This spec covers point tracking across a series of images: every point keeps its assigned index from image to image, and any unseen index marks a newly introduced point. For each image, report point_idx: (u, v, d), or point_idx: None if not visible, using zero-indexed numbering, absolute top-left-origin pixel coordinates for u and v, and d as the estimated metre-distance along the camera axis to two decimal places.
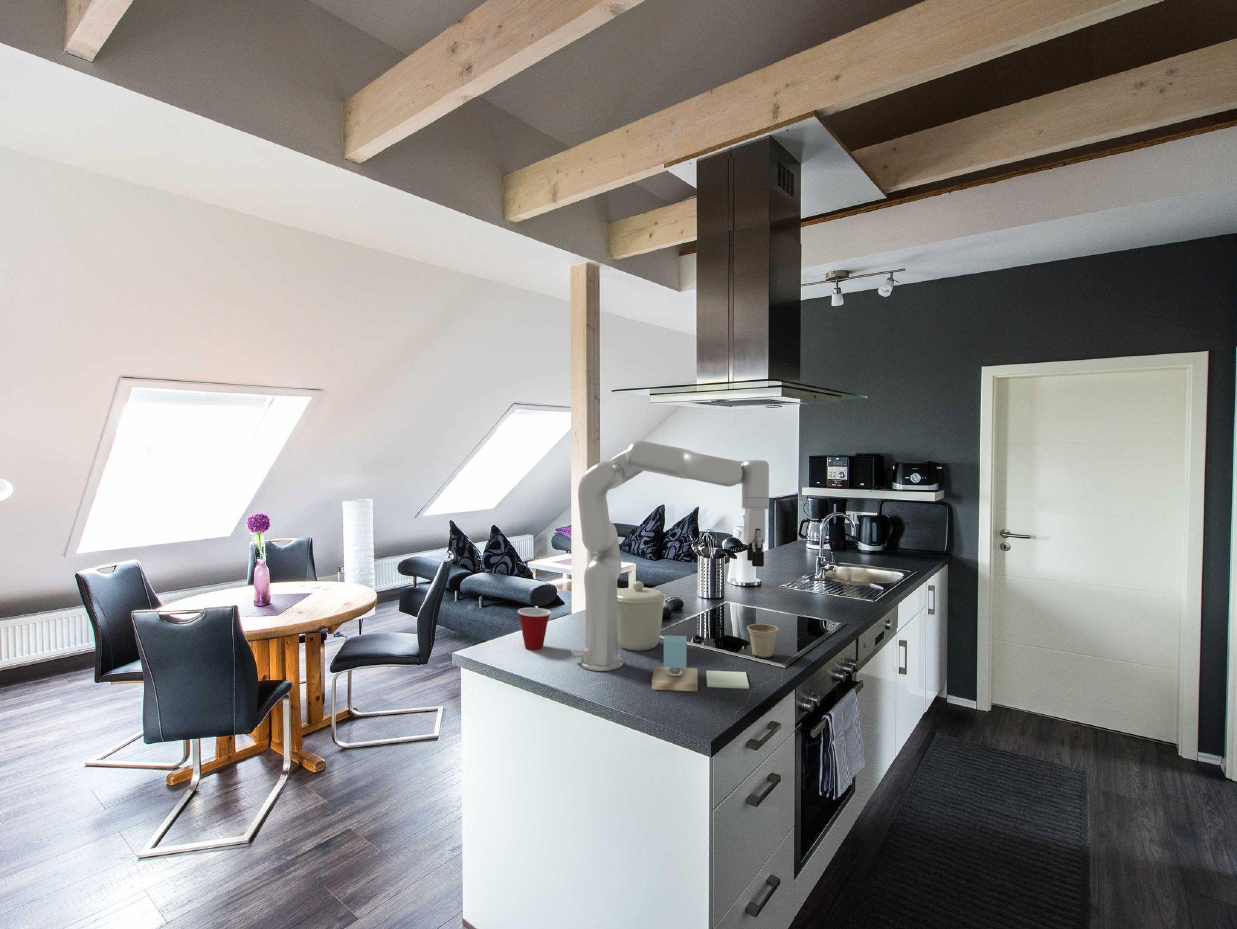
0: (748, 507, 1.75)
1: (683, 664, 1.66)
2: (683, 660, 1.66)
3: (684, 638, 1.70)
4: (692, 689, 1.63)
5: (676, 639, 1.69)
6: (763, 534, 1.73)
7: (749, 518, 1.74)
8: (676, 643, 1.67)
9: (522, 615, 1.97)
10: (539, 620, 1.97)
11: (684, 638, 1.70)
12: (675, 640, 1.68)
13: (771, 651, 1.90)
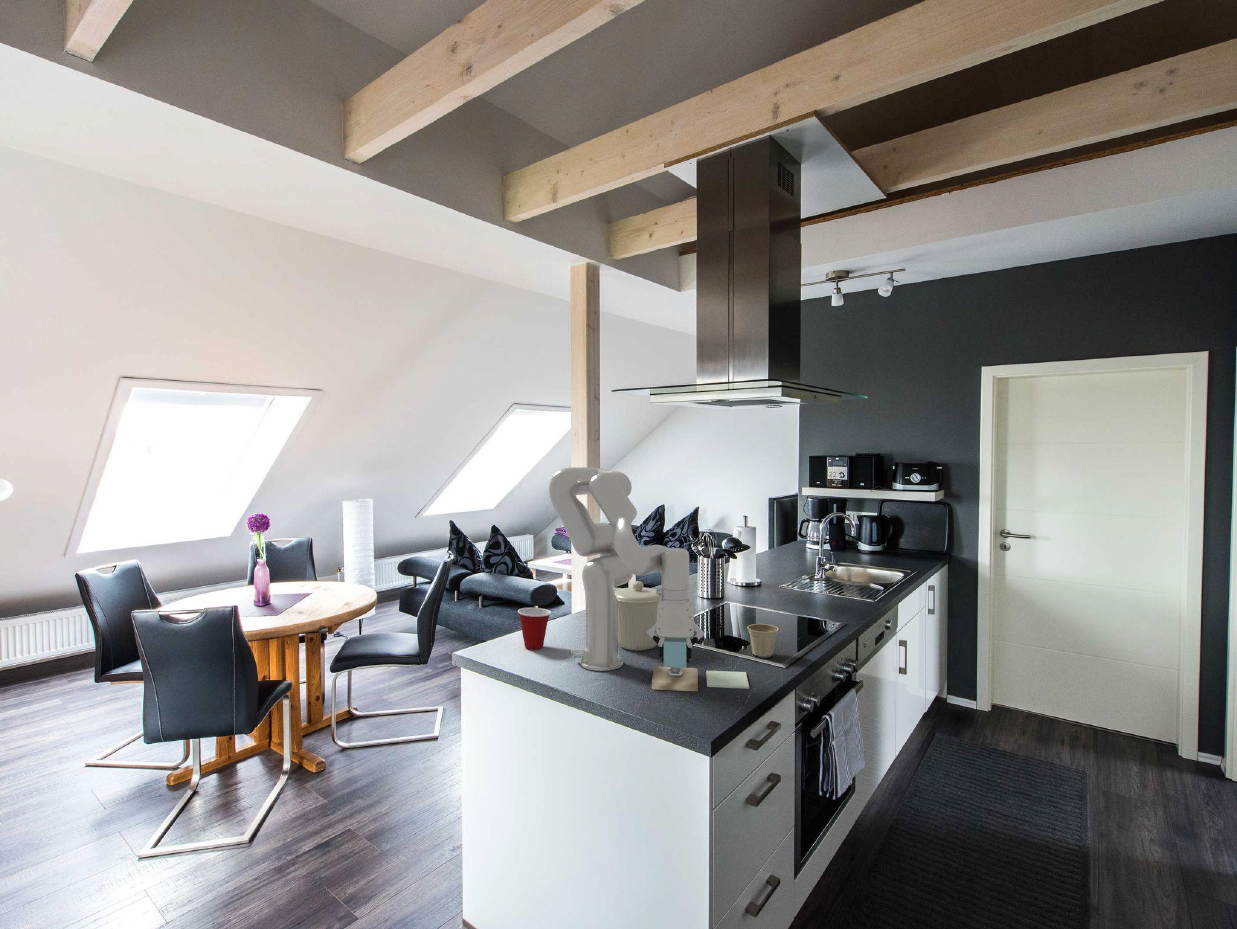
0: (685, 599, 1.67)
1: (683, 664, 1.66)
2: (683, 660, 1.66)
3: (684, 638, 1.70)
4: (692, 689, 1.63)
5: (676, 639, 1.69)
6: None
7: (691, 611, 1.67)
8: (676, 643, 1.67)
9: (522, 615, 1.97)
10: (539, 620, 1.97)
11: (684, 638, 1.70)
12: (675, 640, 1.68)
13: (771, 651, 1.90)
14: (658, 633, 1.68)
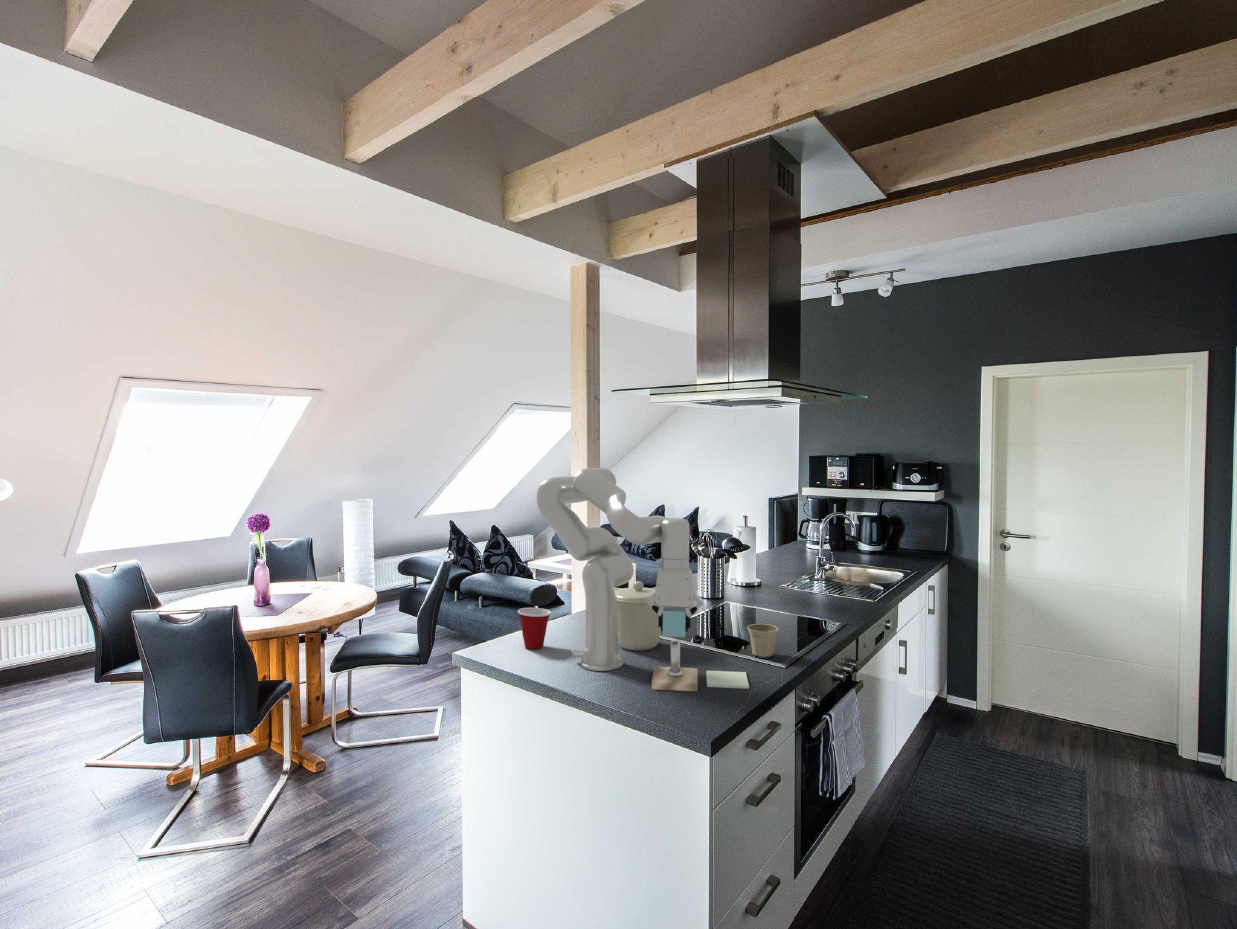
0: (685, 569, 1.67)
1: (682, 633, 1.67)
2: (682, 629, 1.67)
3: (683, 608, 1.70)
4: (692, 689, 1.63)
5: (675, 609, 1.69)
6: None
7: (691, 580, 1.67)
8: (675, 612, 1.67)
9: (522, 615, 1.97)
10: (539, 620, 1.97)
11: (683, 608, 1.70)
12: (674, 609, 1.68)
13: (771, 651, 1.90)
14: (657, 602, 1.68)
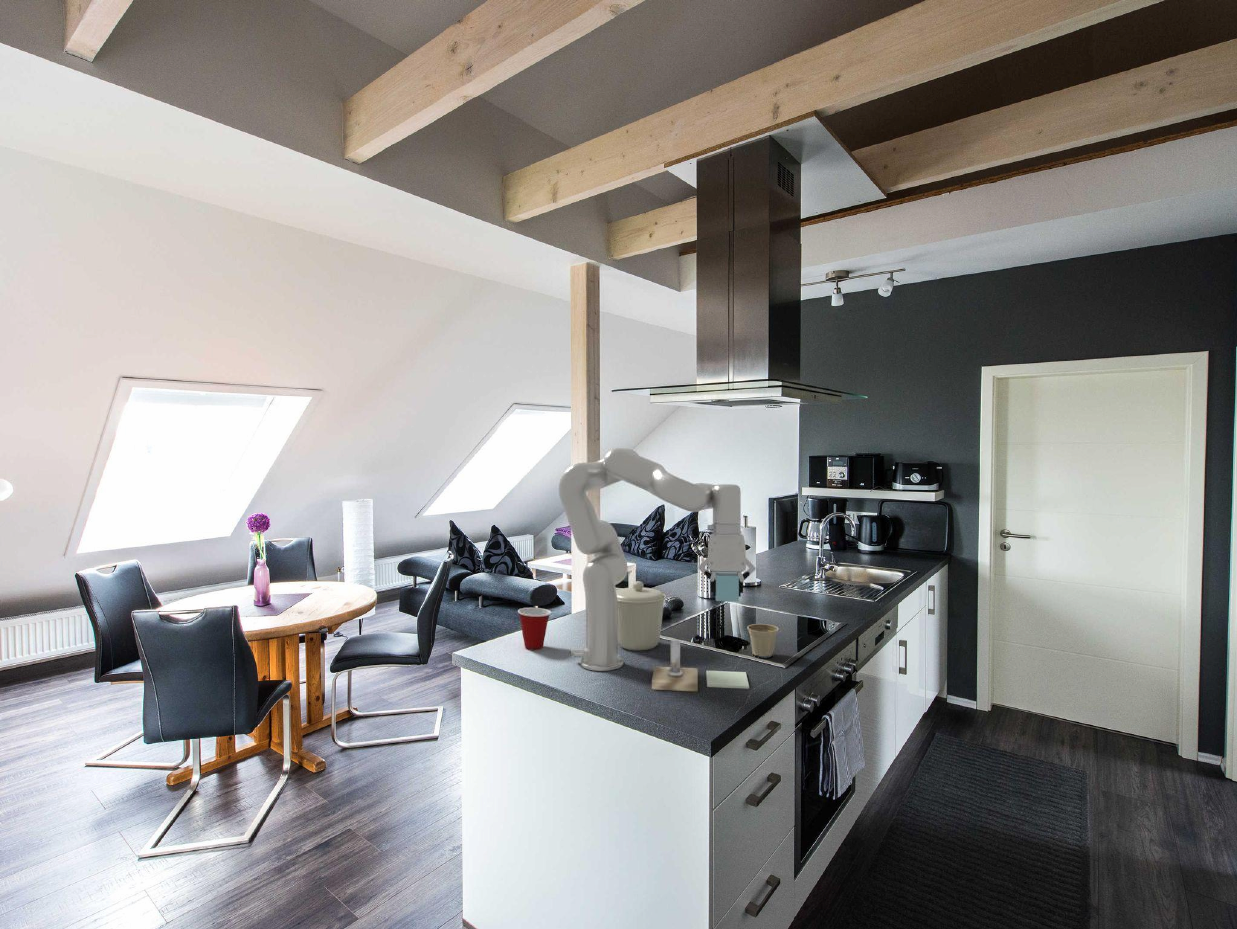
0: (738, 534, 1.68)
1: (736, 598, 1.67)
2: (736, 594, 1.67)
3: (735, 573, 1.71)
4: (692, 689, 1.63)
5: (727, 574, 1.70)
6: None
7: (743, 545, 1.68)
8: (728, 577, 1.68)
9: (522, 615, 1.97)
10: (539, 620, 1.97)
11: (735, 573, 1.71)
12: (727, 574, 1.69)
13: (771, 651, 1.90)
14: (710, 567, 1.69)
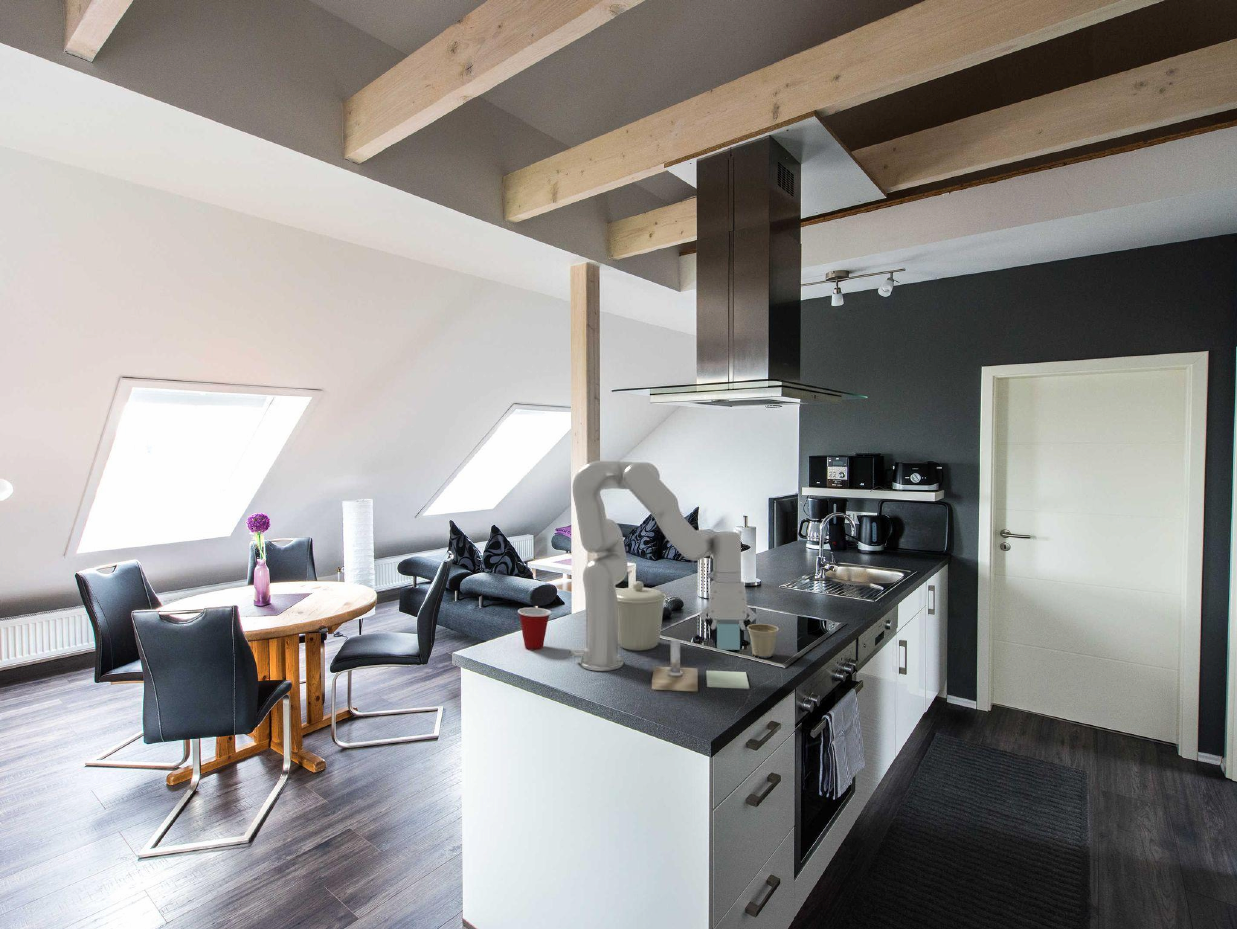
0: (738, 582, 1.68)
1: (737, 646, 1.68)
2: (737, 642, 1.68)
3: None
4: (692, 689, 1.63)
5: (728, 621, 1.70)
6: None
7: (744, 593, 1.68)
8: (729, 625, 1.68)
9: (522, 615, 1.97)
10: (539, 620, 1.97)
11: (736, 621, 1.71)
12: (728, 622, 1.69)
13: (771, 651, 1.90)
14: (711, 616, 1.69)
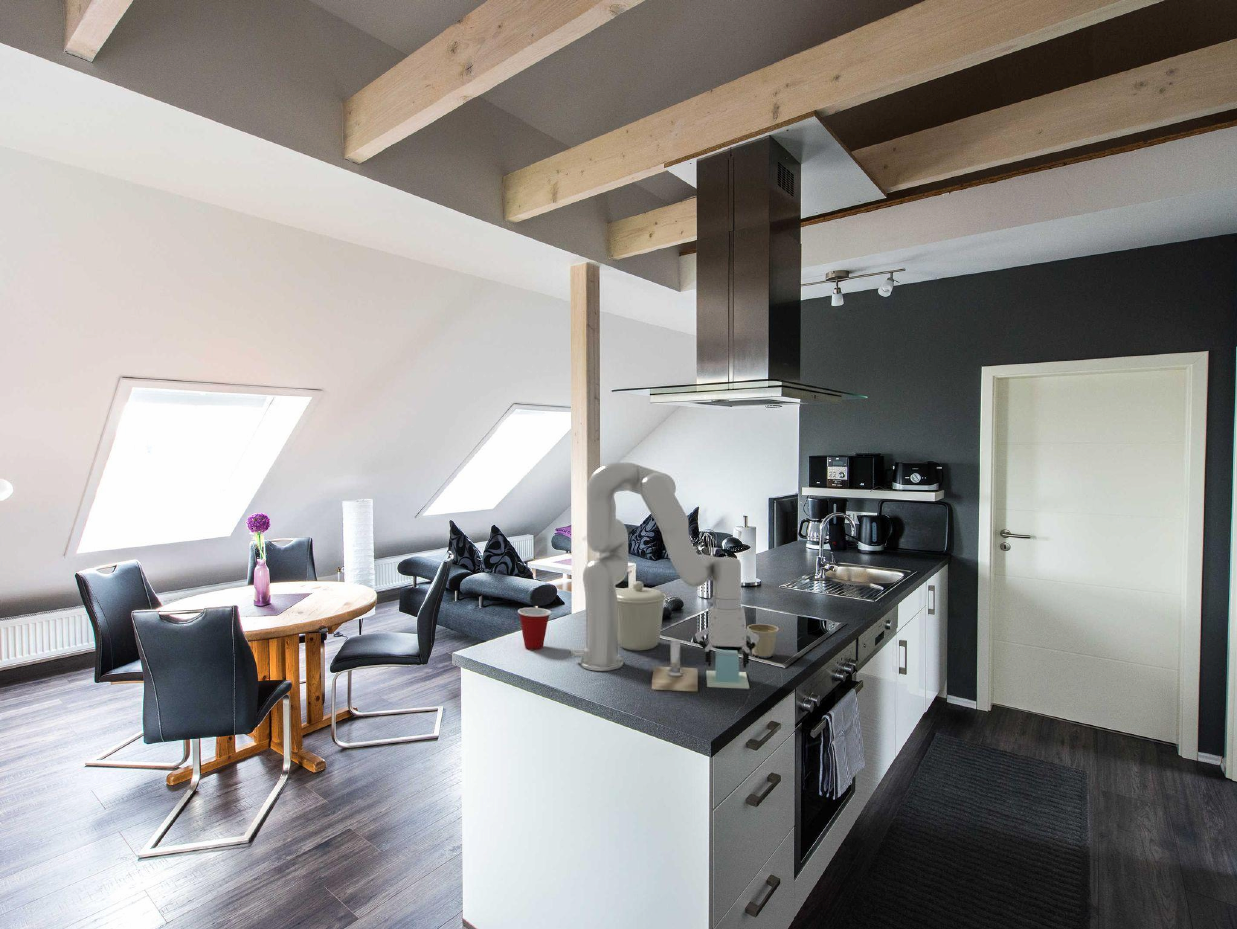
0: (738, 608, 1.68)
1: (736, 679, 1.68)
2: (736, 675, 1.68)
3: (735, 653, 1.71)
4: (692, 689, 1.63)
5: (728, 654, 1.70)
6: None
7: (744, 619, 1.68)
8: (729, 658, 1.68)
9: (522, 615, 1.97)
10: (539, 620, 1.97)
11: (735, 653, 1.71)
12: (727, 655, 1.70)
13: (771, 651, 1.90)
14: (710, 642, 1.69)
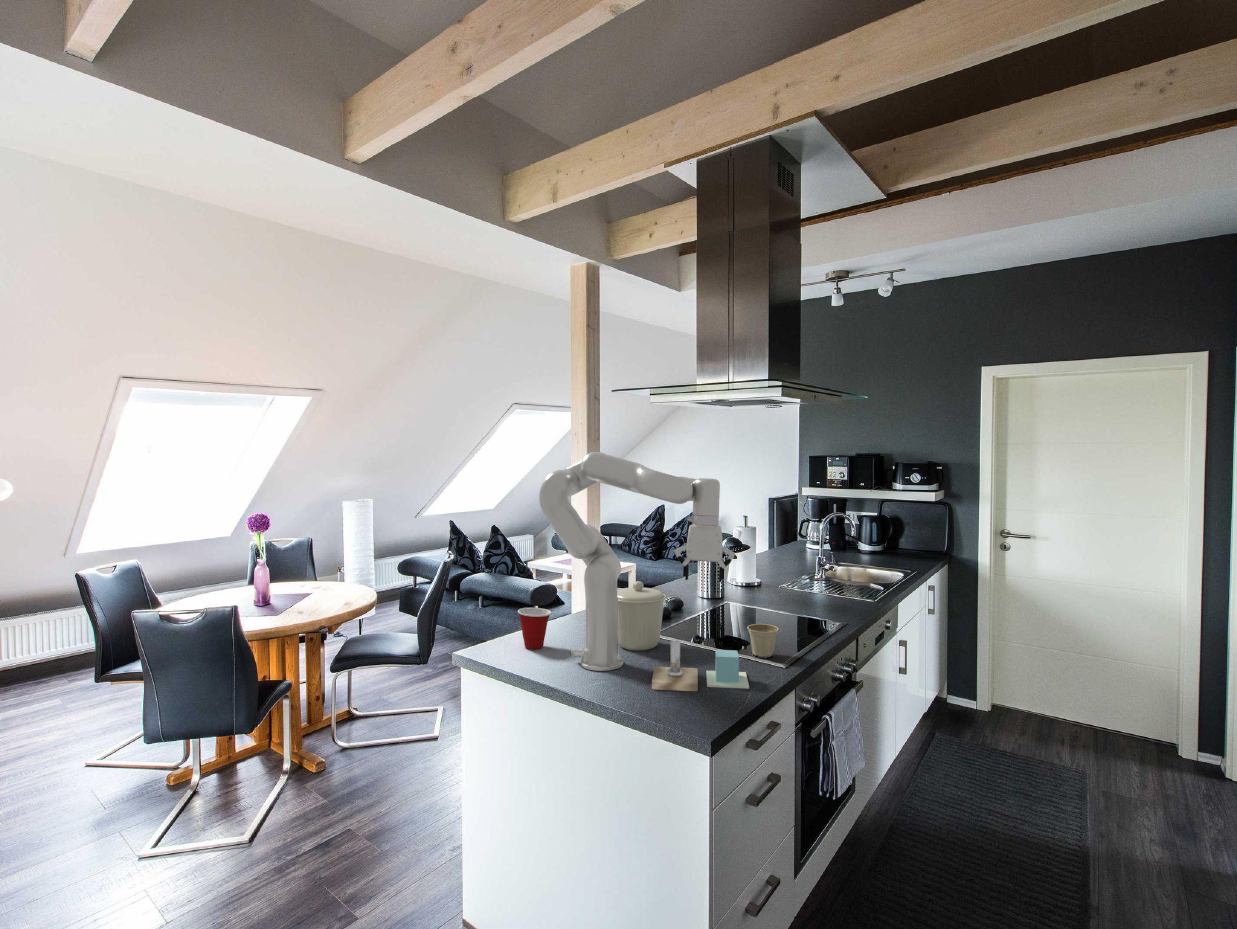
0: (715, 525, 1.77)
1: (736, 679, 1.68)
2: (736, 675, 1.68)
3: (735, 653, 1.71)
4: (692, 689, 1.63)
5: (728, 654, 1.70)
6: None
7: (720, 536, 1.77)
8: (729, 658, 1.68)
9: (522, 615, 1.97)
10: (539, 620, 1.97)
11: (735, 653, 1.71)
12: (727, 655, 1.70)
13: (771, 651, 1.90)
14: (688, 556, 1.78)
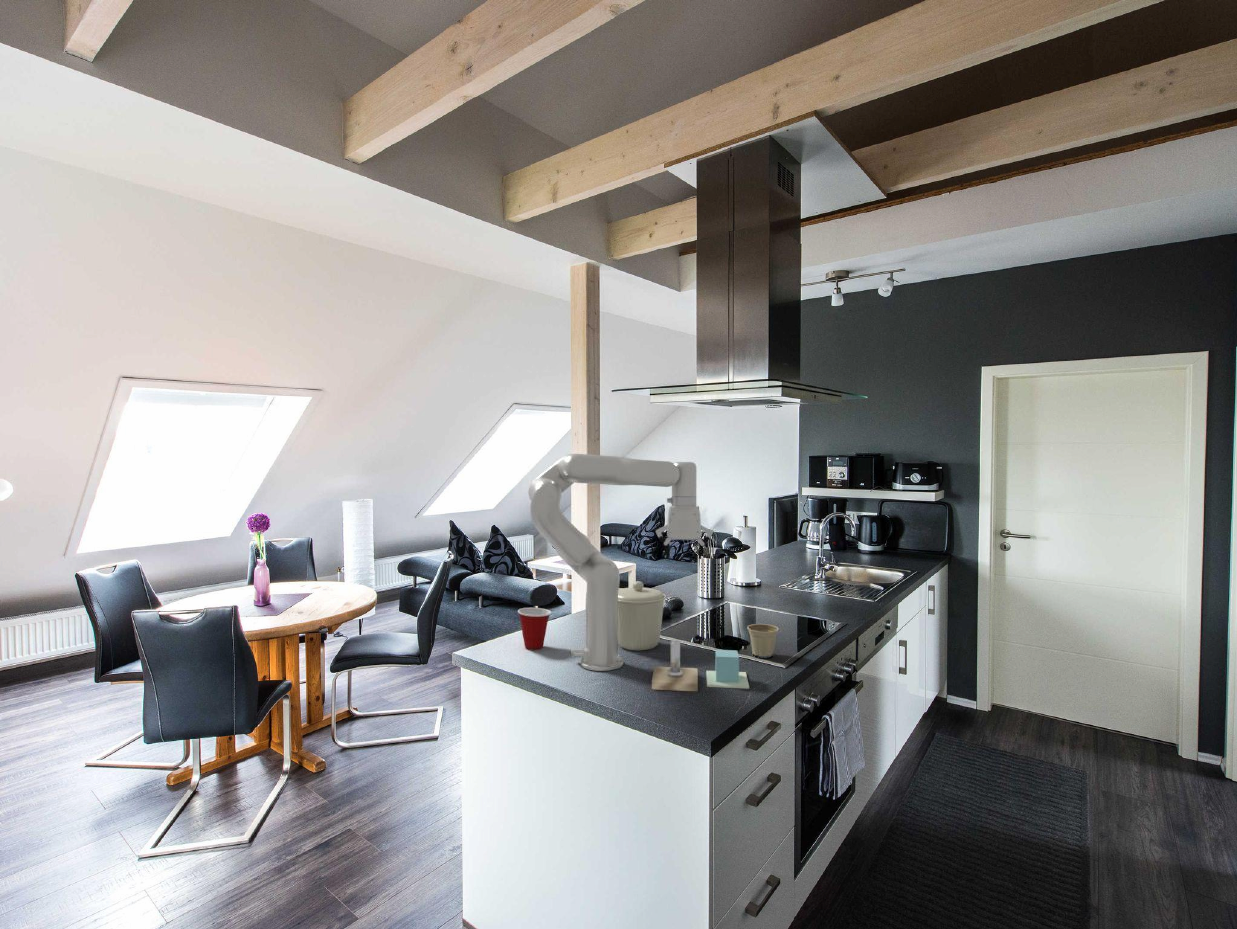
0: (693, 505, 1.88)
1: (736, 679, 1.68)
2: (736, 675, 1.68)
3: (735, 653, 1.71)
4: (692, 689, 1.63)
5: (728, 654, 1.70)
6: None
7: (698, 515, 1.88)
8: (729, 658, 1.68)
9: (522, 615, 1.97)
10: (539, 620, 1.97)
11: (735, 653, 1.71)
12: (727, 655, 1.70)
13: (771, 651, 1.90)
14: (669, 535, 1.89)
